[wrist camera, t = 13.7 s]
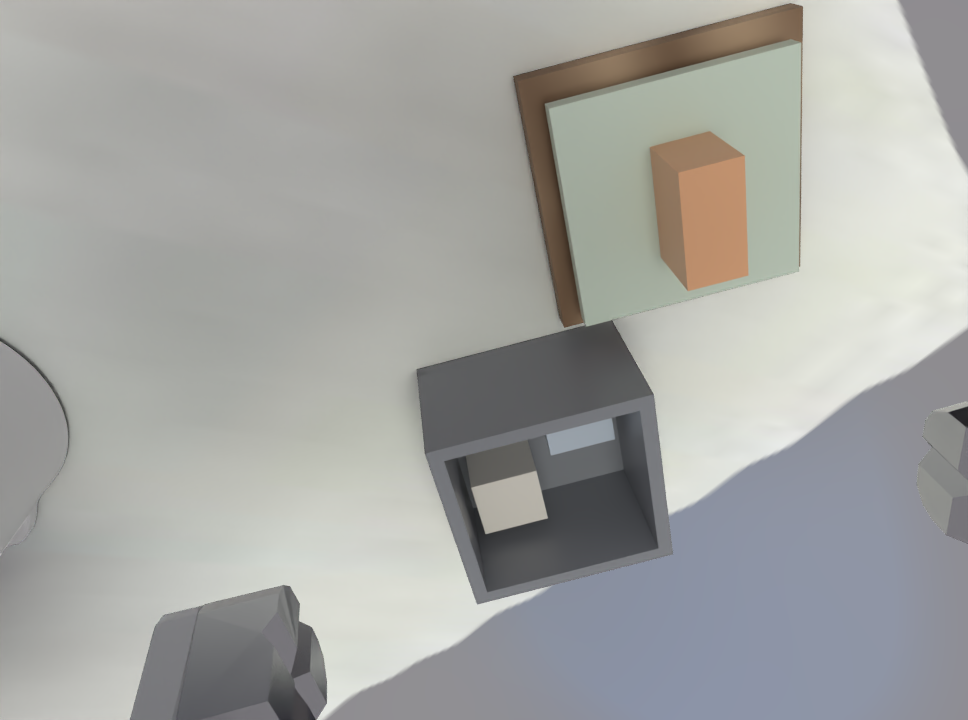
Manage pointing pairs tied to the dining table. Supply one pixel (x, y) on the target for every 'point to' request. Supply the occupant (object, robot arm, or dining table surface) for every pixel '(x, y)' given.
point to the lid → (681, 181)
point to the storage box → (546, 460)
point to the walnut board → (618, 70)
